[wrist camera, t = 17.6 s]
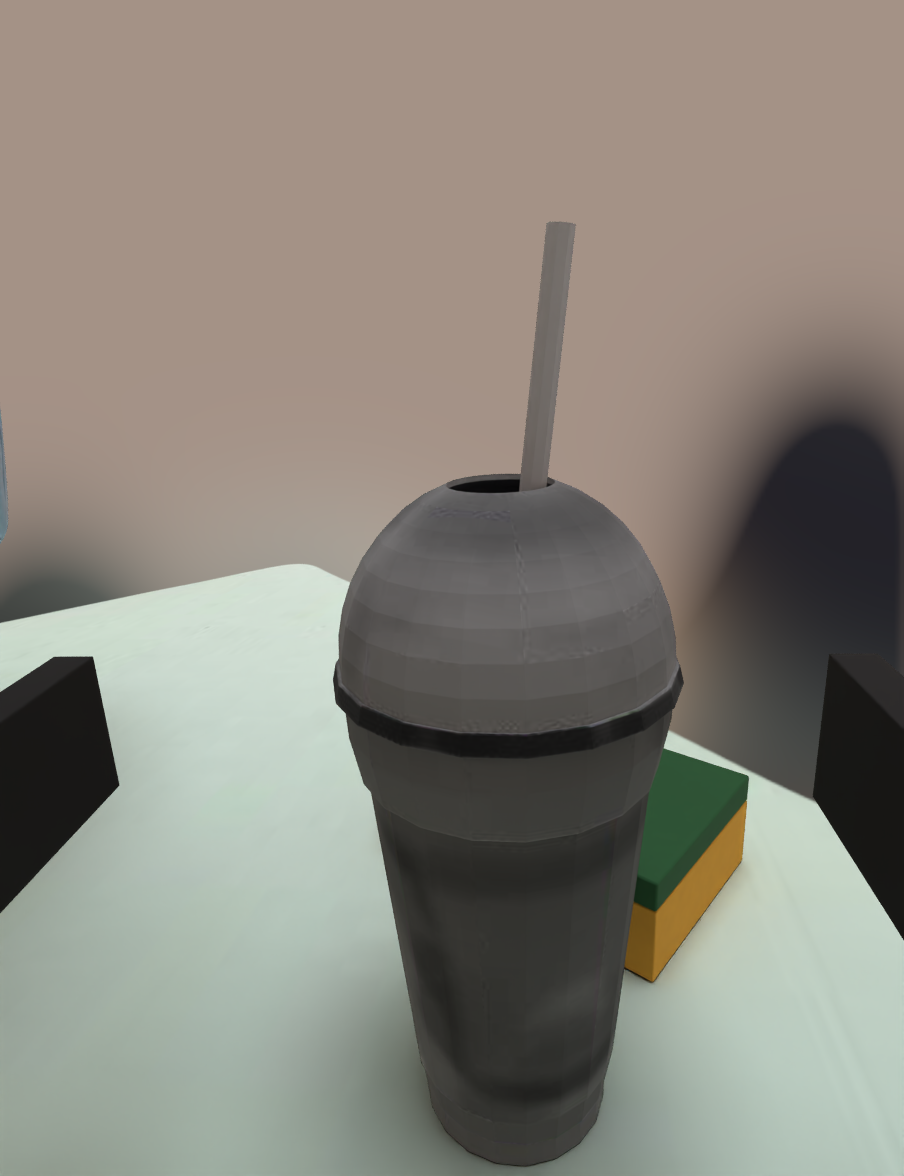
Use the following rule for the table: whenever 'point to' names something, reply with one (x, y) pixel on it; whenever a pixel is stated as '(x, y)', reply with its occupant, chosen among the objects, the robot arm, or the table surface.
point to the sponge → (683, 855)
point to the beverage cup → (511, 769)
